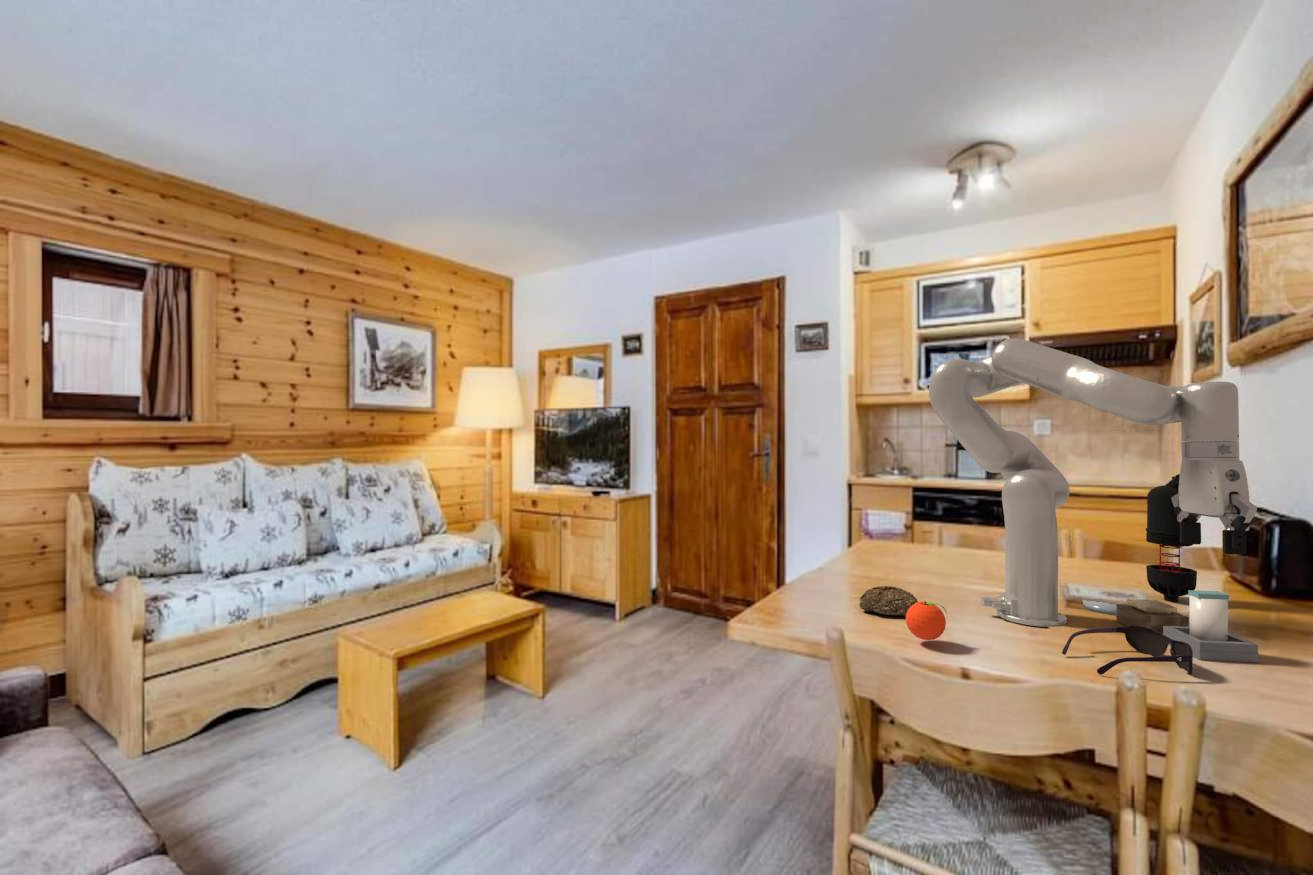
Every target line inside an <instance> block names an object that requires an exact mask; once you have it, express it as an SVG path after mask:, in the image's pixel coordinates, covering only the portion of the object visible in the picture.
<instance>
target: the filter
mask: <svg viewBox="0 0 1313 875" xmlns="http://www.w3.org/2000/svg"><path fill="white" fill-rule="evenodd" d="M1179 476H1180V473H1178V474H1175V475H1174V476H1172V477H1171V480H1169V481H1168V482H1167V483H1166V484H1164V485H1158V486H1156V487H1154V488H1151V489H1150V490H1149V491H1148V493H1147V496H1146V497H1147V499H1146V504H1147V505H1146V508H1147V509H1146V511H1147V512H1146V527H1145V532H1146V533H1145V537H1146V538H1145V539H1146V540H1145V541H1146V542H1147V543H1152V544H1155V545H1159V546H1158V547H1159V553H1158V555H1159V562H1158V563H1159V564H1148V565H1146V566H1145V567H1146V581H1147V582H1148V585H1149V587H1150V588H1151V589H1153V591H1154V592H1157V593H1159V594H1161V595H1163V600H1164V601H1166V602H1171V603H1178V602H1179V598H1180V597H1183V596H1189V595H1188V590H1194V591H1196V588H1197V581H1198V571H1197V570H1195V569H1192V568H1188V567H1183V566H1181V552H1180V549H1181V548H1182V547H1192V546H1194V544H1181V543H1180V522H1178V520H1177V514H1176V513H1175V511H1174V508H1175V507H1174V505H1173V502H1172V499H1171V498H1172V497H1173V496H1174V495H1176V494H1178V493H1179ZM1162 548H1165V549H1170V550H1173V549H1174V550H1175V549H1177V550H1178V554H1175V553H1168V552H1166V553H1165V552H1162ZM1162 557H1166V558H1178V562H1173V561H1162Z"/></svg>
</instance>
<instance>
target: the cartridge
mask: <svg viewBox="0 0 1313 875" xmlns="http://www.w3.org/2000/svg"><path fill="white" fill-rule="evenodd" d="M1187 596H1189V604H1188V605H1189V612H1188V613H1189V616H1188V617H1189V635H1191V636H1193V637H1195V638H1198V639H1200V640H1204V641H1228V633H1229V600H1230V594H1228V593H1225V592H1222V591H1218V590H1188V595H1187Z"/></svg>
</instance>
